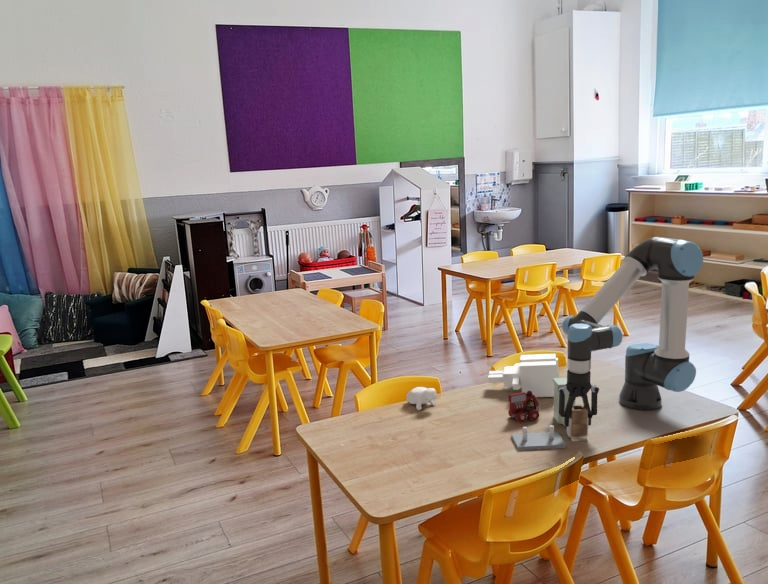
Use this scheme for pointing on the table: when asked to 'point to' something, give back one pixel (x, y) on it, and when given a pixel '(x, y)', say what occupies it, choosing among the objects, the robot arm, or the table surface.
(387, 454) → the table surface
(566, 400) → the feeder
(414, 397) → the white blocky animal toy
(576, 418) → the sleeve
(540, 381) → the white voxel figure
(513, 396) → the toy fire truck
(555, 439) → the pinboard
